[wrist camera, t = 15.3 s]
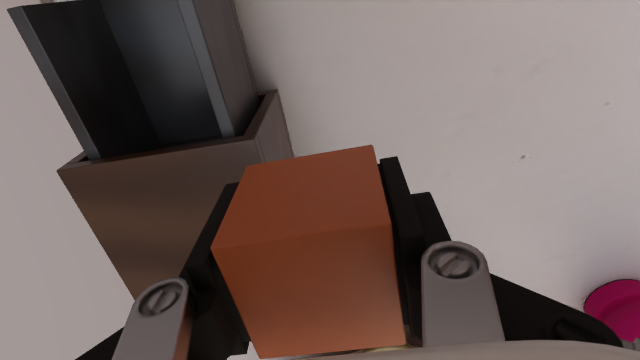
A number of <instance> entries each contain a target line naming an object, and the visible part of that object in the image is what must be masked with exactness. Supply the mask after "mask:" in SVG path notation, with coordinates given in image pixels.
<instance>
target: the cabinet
mask: <svg viewBox="0 0 640 360" xmlns="http://www.w3.org/2000/svg"><path fill="white" fill-rule="evenodd" d="M258 97H259V100H260V104H261V105H260V107H259V108H258V110H257V112H256V114H255V116H254V117H253V119H252V121H251V123H250V125H249V127H248V128H247V130H246V132H245V134H244V136H239V137H233V138H227V139H220V140H214V141H208V142H202V143H195V144H189V145H183V146H177V147H171V148H164V149H158V150H152V151H146V152H140V153H133V154H127V155H121V156H115V157H109V158H102V159H96V160H90V161H89V159H88V157H87V155H86V153H85V151H83V152H82V153H81V154H79V155H78V156H76V157H75V158H73V159H72V160H71V161H69V162H68V163H66V164H65V165H64V166H62V167H61V168H59V169H58V170H57V173H58V175H59V176H60V178H61V180H62V181H63V183H64V185H65V186H66V188H67V189H68V191H69V193H70V194H71V196H72V198H73V199H74V201H75V203H76V204H77V206H78V208H79V209H80V211H81V213H82V214H83V216H84V217H85V219H86V221H87V222H88V224H89V226H90V227H91V229H92V231H93V232H94V234H95V236H96V237H97V239H98V241H99V242H100V244H101V245H102V247H103V249H104V250H105V252H106V254H107V255H108V257H109V258H110V260H111V262H112V264H113V265H114V267H115V268H116V270H117V272H118V273H119V275H120V277H121V278H122V280H123V281H124V283H125V285H126V287H127V288H128V290H129V291H130V293H131V295H132V296H133V298H134V300H136V299H137V297H138V296H139V295H140V294H141V293H142V292H143V291H144V290H145V289H147V288H148V287H149V286H151V285H152V284H154V283H156V282H158V281H160V280H163V279H166V278H171V277H179V275H180V273H181V271H182V269H183V267H184V265H185V263H186V261H187V259H188V257H189V255H190V253H191V251H192V249H193V247H194V245H195V243H196V241H197V239H198V237H199V235H200V233H201V231H202V229H203V228H204V226H205V224H206V222H207V220H208V218H209V216H210V214H211V212H212V210H213V208H214V206H215V204H216V202H217V200H218V198H219V196H220V194H221V193H222V191H223V189H224V187H225V185H226V184H229V183H235V182H240V180H241V178H242V176H243V174H244V171H245V169H246V167H247V166H248V165H254V164H260V163H266V162H272V161H278V160H284V159H290V158H294V154H293V150H292V146H291V142H290V137H289V133H288V129H287V125H286V121H285V116H284V112H283V108H282V104H281V100H280V96H279V91H278V89H276V90H270V91H264V92H259V93H258Z"/></svg>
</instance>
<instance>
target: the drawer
mask: <svg viewBox="0 0 640 360" xmlns="http://www.w3.org/2000/svg"><path fill="white" fill-rule="evenodd" d="M7 11H8V13H9V15H10V16H11V18H12V20H13V22H14V24H15V25H16V27H17V29H18V31H19V33H20V35H21V37H22V38H23V40H24V42H25V44H26V46H27V47H28V49H29V51H30V53H31V55H32V56H33V58H34V60H35V62H36V64H37V66H38V67H39V69H40V71H41V73H42V75H43V77H44V78H45V80H46V82H47V84H48V86H49V87H50V89H51V91H52V93H53V95H54V96H55V98H56V100H57V102H58V104H59V106H60V108H61V110H62V111H63V113H64V115H65V117H66V119H67V120H68V122H69V124H70V126H71V128H72V129H73V131H74V133H75V135H76V137H77V139H78V141H79V142H80V144H81V146H82V148H83V149H84V151H85V153H86V155H87V157H88V159H89V161H90V160H96V159H102V158H109V157H115V156H121V155H127V154H133V153H140V152H146V151H152V150H158V149H164V148H171V147H177V146H183V145H189V144H195V143H202V142H208V141H214V140H220V139H227V138H233V137H239V136H244V134H245V132H246V130H247V128H248V127H249V125H250V123H251V121H252V119H253V117H254V116H255V114H256V112H257V110H258V108H259V107H260V105H261V104H260V100H259V97H258V93H257V89H256V86H255V82H254V78H253V74H252V71H251V67H250V63H249V59H248V56H247V52H246V48H245V45H244V41H243V37H242V33H241V30H240V26H239V22H238V18H237V15H236V11H235V7H234V4H233V0H76V1H66V2H56V3H46V4H36V5H26V6H19V7H14V8H10V9H7Z"/></svg>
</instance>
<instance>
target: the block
mask: <svg viewBox="0 0 640 360" xmlns="http://www.w3.org/2000/svg"><path fill="white" fill-rule="evenodd" d="M211 251H212V253H213V256H214V258H215V260H216V262H217V265H218V267H219V269H220V271H221V274H222V276H223V278H224V280H225V283H226V285H227V287H228V289H229V292H230V294H231V296H232V298H233V301H234V303H235V305H236V307H237V309H238V312H239V314H240V316H241V318H242V321H243V323H244V325H245V327H246V330H247V332H248V334H249V336H250V339H251V341H252V343H253V345H254V348H255V350H256V352H257V354H258V357H259V358H260V359H265V358H276V357H286V356H296V355H306V354H316V353H326V352H336V351H347V350H357V349H367V348H377V347H387V346H397V345H405V344H406V336H405V328H404V324H403V317H402V309H401V302H400V294H399V286H398V278H397V270H396V262H395V254H394V240H393V232H392V224H391V220H390V215H389V211H388V207H387V203H386V199H385V194H384V190H383V186H382V182H381V177H380V173H379V169H378V165H377V161H376V156H375V152H374V148H373V146H372V145H367V146H361V147H355V148H349V149H343V150H337V151H331V152H325V153H319V154H313V155H307V156H302V157H296V158H290V159H284V160H278V161H272V162H266V163H260V164H254V165H248V166H247V167H246V169H245V171H244V174H243V176H242V178H241V180H240V182H239V185H238V187H237V189H236V191H235V194H234V196H233V198H232V200H231V203H230V205H229V207H228V209H227V212H226V214H225V216H224V218H223V221H222V223H221V225H220V227H219V230H218V232H217V234H216V236H215V238H214V241H213V243H212V245H211Z"/></svg>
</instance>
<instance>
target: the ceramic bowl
mask: <svg viewBox="0 0 640 360" xmlns="http://www.w3.org/2000/svg"><path fill="white" fill-rule="evenodd" d="M410 348H421V347H415V346H410V345H409V344H408V343H407V342H406V344H405V345H397V346H387V347H377V348H367V349H363V350H359V351H356V352H353V353H350V354H356V353H366V352H377V351H388V350H399V349H410Z"/></svg>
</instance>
